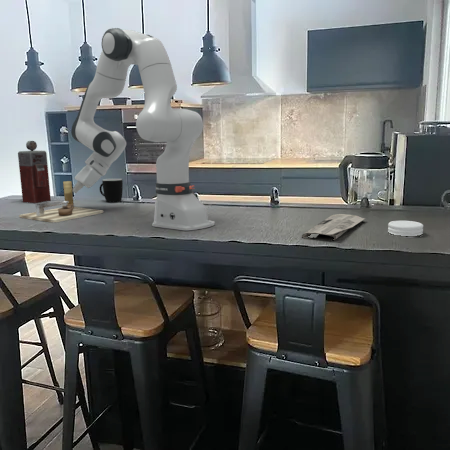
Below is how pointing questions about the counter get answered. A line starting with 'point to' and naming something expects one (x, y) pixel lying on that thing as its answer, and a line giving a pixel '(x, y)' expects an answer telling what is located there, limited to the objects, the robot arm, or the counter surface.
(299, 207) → the counter surface
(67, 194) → the tan l-shaped piece
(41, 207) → the keeper
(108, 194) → the mug
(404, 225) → the white round disc
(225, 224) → the counter surface
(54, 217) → the pivot board
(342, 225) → the newspaper
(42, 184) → the toy vending machine
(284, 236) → the counter surface
